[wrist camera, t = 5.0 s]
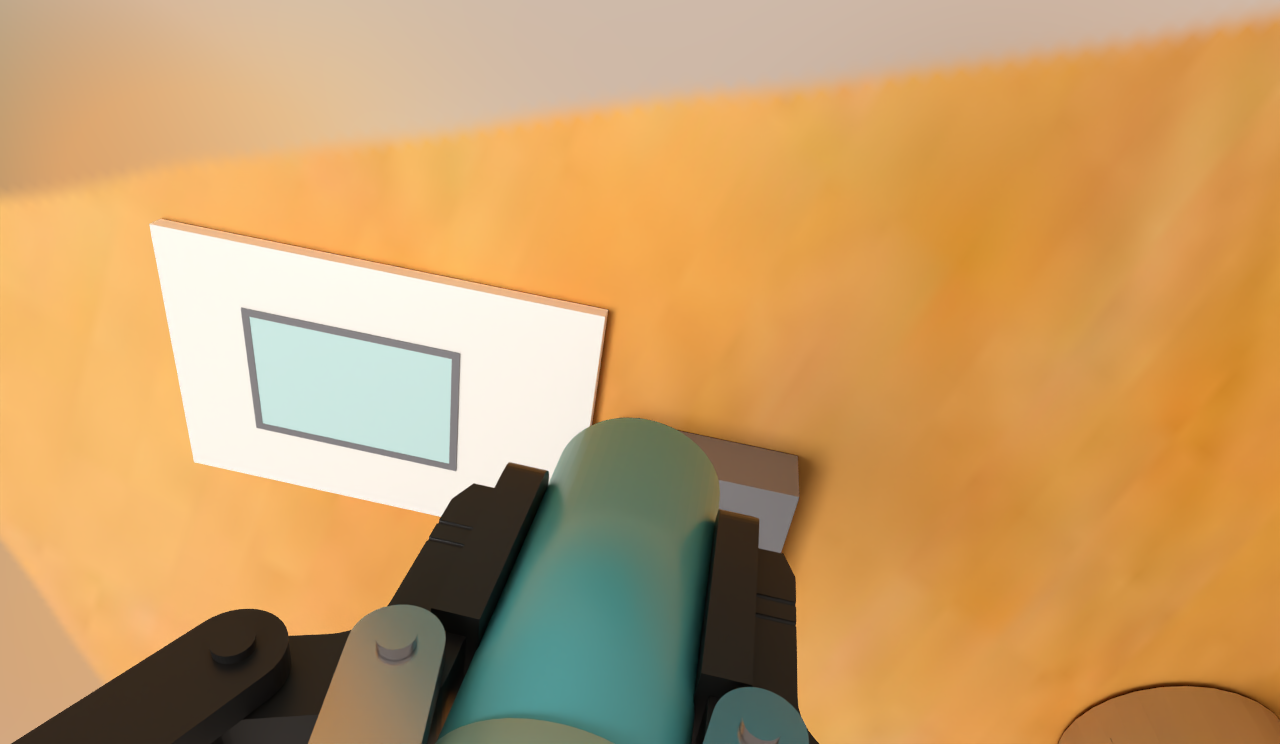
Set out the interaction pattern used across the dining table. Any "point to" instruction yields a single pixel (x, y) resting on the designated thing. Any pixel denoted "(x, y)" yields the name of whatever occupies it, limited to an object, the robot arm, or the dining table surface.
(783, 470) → the button frame
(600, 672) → the marker
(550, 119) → the dining table surface
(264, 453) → the sheet
